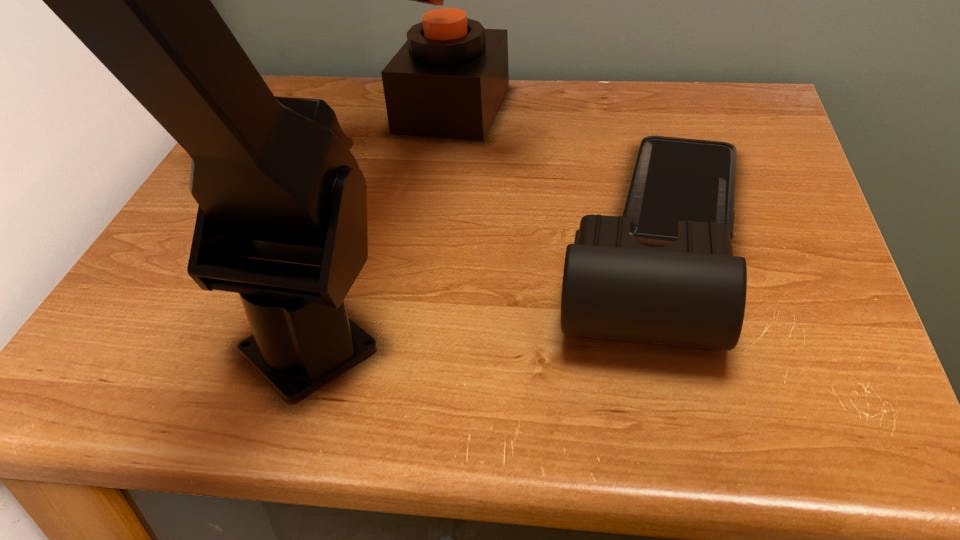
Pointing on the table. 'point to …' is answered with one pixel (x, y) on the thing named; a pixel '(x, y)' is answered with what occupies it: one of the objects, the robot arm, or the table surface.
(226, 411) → the table surface
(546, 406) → the table surface
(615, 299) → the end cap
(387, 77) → the push button base
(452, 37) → the orange push button
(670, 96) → the table surface
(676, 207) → the phone
